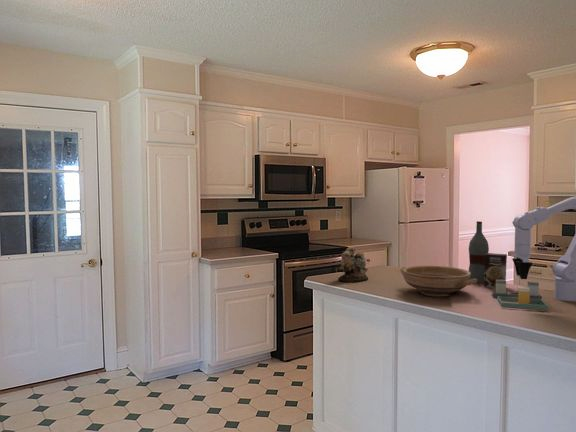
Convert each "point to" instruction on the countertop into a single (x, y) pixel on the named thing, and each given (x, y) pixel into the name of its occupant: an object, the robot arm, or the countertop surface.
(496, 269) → the coffee box
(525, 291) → the block
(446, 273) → the ceramic bowl
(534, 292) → the grey rectangular block
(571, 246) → the robot arm
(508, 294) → the fuse holder
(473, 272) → the bottle
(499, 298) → the parts tray
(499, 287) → the block
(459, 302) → the countertop surface
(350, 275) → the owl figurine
